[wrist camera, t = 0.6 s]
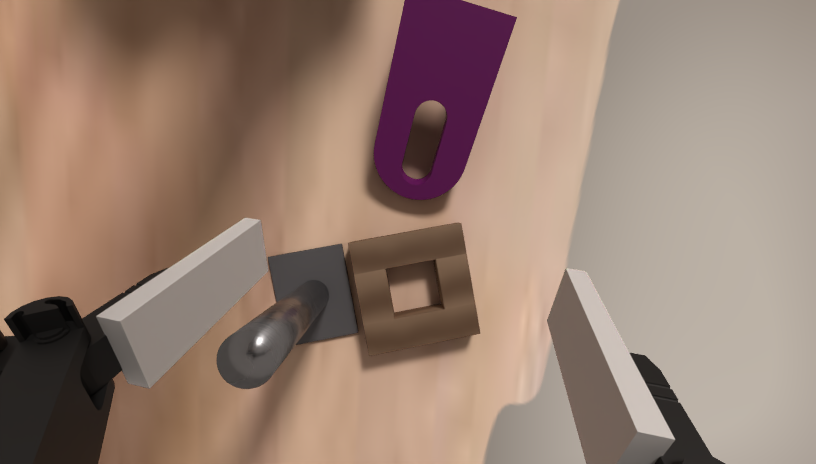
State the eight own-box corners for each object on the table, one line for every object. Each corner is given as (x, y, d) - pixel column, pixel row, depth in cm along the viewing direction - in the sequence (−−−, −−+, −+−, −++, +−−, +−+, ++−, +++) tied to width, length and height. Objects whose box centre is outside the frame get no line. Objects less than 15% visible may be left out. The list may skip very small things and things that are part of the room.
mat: (269, 256, 36) (267, 257, 36) (341, 243, 36) (341, 243, 36) (286, 345, 36) (285, 346, 36) (358, 331, 37) (358, 332, 36)
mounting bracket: (446, 184, 43) (498, 28, 35) (450, 209, 35) (517, 17, 27) (376, 165, 42) (412, 1, 34) (365, 186, 35) (408, -17, 27)
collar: (350, 242, 36) (348, 243, 34) (456, 222, 37) (461, 222, 35) (370, 346, 37) (369, 356, 34) (474, 326, 38) (480, 333, 35)
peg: (294, 283, 36) (211, 337, 19) (326, 277, 36) (270, 325, 19) (300, 313, 36) (223, 394, 19) (331, 307, 36) (282, 382, 19)
